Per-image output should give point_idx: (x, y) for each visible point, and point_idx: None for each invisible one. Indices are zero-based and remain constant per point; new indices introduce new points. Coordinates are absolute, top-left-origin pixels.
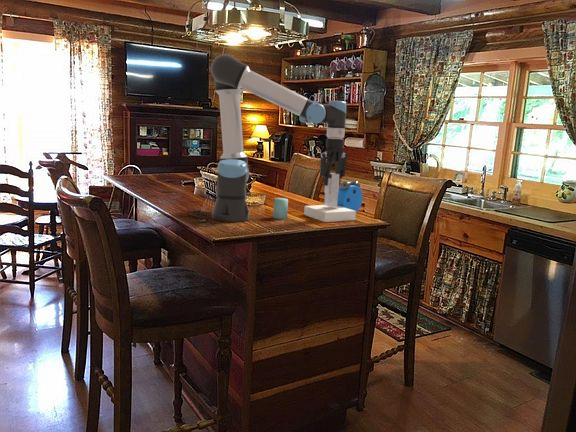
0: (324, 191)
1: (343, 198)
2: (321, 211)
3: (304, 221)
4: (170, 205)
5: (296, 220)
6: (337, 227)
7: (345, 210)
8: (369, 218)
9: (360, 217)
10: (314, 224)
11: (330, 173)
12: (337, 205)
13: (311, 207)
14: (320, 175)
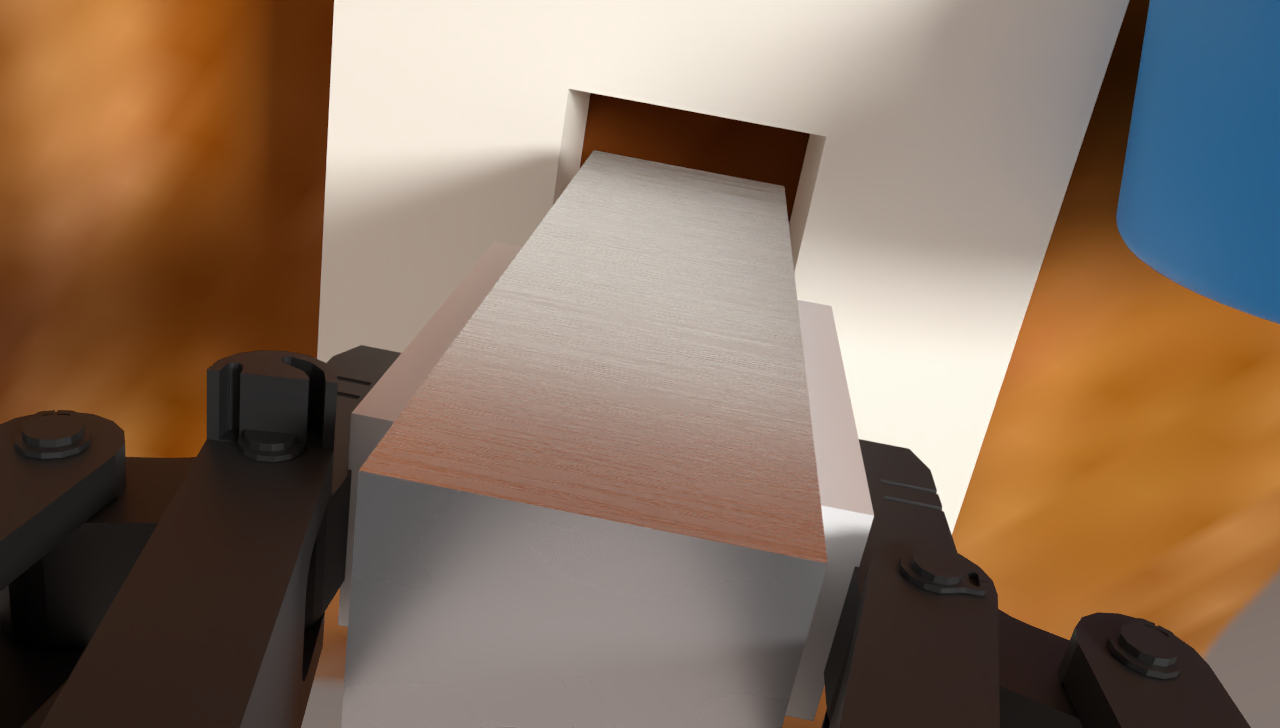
0: (486, 253)
1: (1156, 257)
2: None
3: (104, 244)
4: None
5: (20, 135)
6: (322, 676)
7: None
8: (1240, 537)
9: (1183, 426)
10: (139, 443)
11: (441, 659)
12: (1109, 54)
13: (371, 4)
14: (24, 428)
